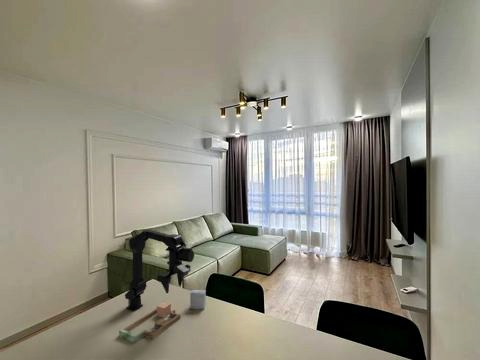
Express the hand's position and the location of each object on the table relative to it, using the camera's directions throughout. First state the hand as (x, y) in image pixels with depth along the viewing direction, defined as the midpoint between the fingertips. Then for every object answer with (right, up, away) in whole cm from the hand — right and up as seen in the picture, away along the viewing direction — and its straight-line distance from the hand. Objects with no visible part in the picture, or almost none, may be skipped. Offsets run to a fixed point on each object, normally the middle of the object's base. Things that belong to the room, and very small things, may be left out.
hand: (173, 289), depth 119 cm
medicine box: (+11, -15, +9) cm, 20 cm away
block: (-6, -14, +2) cm, 15 cm away
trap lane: (-8, -14, -8) cm, 18 cm away
